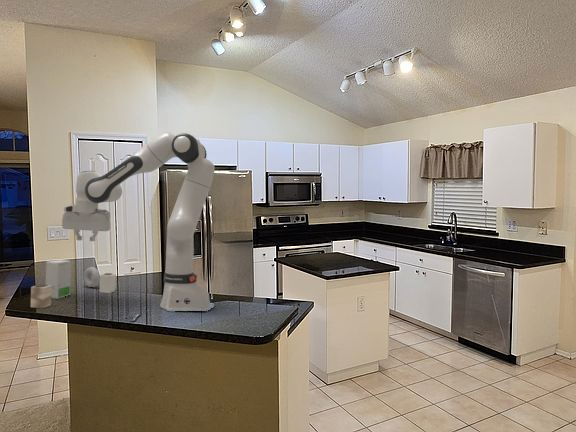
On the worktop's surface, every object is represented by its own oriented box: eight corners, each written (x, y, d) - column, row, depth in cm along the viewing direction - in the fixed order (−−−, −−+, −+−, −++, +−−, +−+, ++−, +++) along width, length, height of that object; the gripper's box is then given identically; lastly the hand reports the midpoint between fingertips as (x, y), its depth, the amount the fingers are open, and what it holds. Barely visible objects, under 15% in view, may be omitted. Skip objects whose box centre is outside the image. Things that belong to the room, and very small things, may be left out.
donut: (101, 288, 203) (101, 267, 202) (94, 289, 200) (95, 268, 199) (88, 285, 208) (89, 265, 207) (81, 286, 205) (82, 266, 204)
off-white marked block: (115, 290, 200) (116, 273, 200) (109, 292, 195) (110, 275, 195) (105, 289, 200) (106, 272, 200) (99, 292, 195) (100, 274, 195)
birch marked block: (51, 305, 169) (51, 284, 169) (42, 308, 164) (43, 287, 164) (39, 304, 170) (40, 283, 169) (30, 307, 165) (31, 286, 164)
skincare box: (57, 299, 178) (58, 262, 178) (43, 297, 180) (44, 261, 179) (71, 295, 187) (72, 260, 186) (58, 293, 188) (59, 259, 187)
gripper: (113, 209, 183) (112, 241, 183) (69, 207, 185) (68, 238, 185) (105, 210, 176) (104, 242, 177) (60, 207, 178) (59, 239, 179)
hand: (85, 240), depth 181 cm, fingers open, 5 cm apart
